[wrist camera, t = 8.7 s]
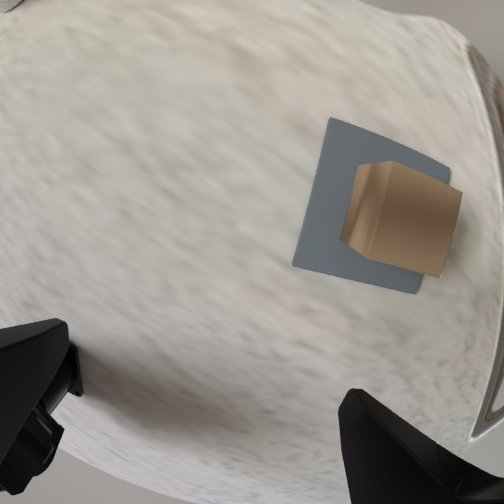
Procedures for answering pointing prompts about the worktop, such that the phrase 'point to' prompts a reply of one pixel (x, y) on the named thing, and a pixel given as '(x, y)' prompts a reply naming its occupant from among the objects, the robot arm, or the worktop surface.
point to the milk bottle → (8, 5)
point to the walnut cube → (401, 217)
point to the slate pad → (337, 200)
